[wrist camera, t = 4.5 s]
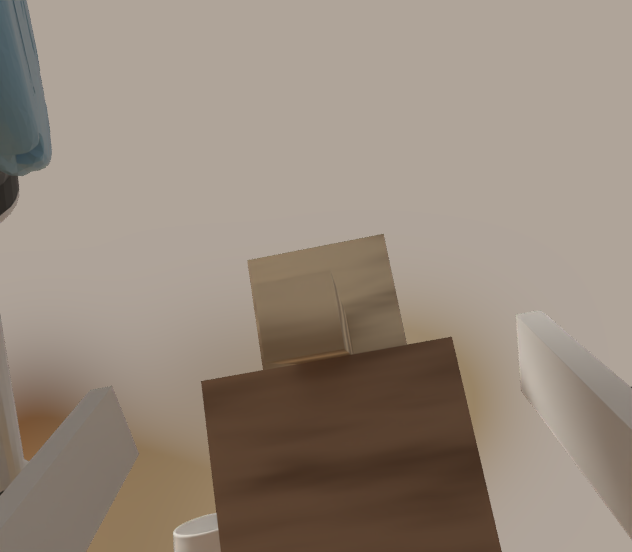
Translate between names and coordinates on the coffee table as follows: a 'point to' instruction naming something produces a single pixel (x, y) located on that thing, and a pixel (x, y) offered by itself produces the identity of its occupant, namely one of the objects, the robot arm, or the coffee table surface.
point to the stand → (349, 456)
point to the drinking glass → (198, 535)
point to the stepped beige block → (325, 302)
